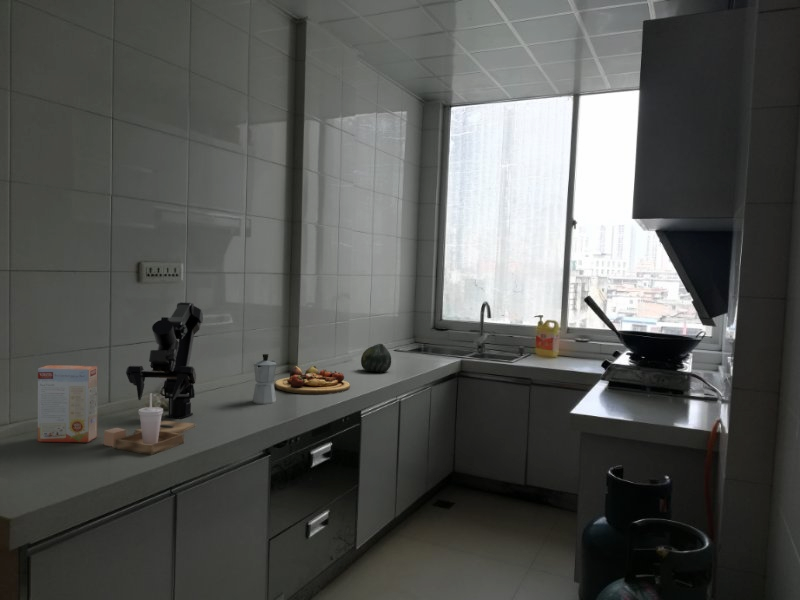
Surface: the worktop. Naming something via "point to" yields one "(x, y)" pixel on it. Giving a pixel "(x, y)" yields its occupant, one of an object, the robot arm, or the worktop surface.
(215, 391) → the worktop surface
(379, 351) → the squash
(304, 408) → the worktop surface
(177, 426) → the lid
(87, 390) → the cracker box
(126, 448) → the wooden tray
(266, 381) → the coffee maker
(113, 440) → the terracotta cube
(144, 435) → the smoothie
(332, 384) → the wooden plate with food
